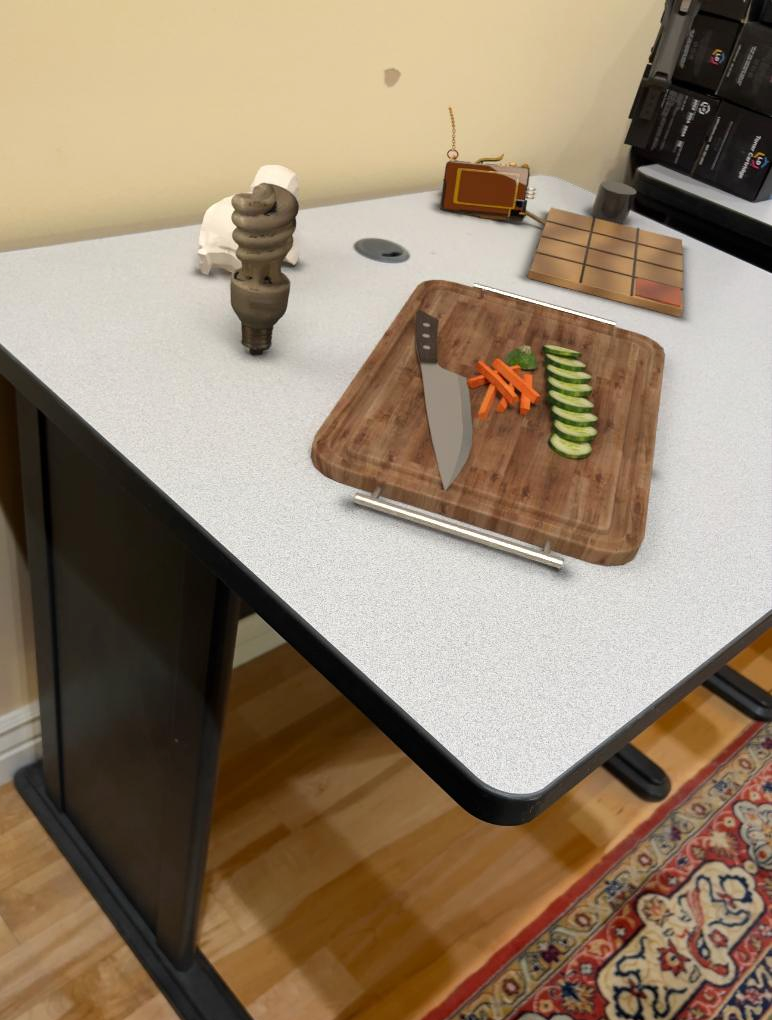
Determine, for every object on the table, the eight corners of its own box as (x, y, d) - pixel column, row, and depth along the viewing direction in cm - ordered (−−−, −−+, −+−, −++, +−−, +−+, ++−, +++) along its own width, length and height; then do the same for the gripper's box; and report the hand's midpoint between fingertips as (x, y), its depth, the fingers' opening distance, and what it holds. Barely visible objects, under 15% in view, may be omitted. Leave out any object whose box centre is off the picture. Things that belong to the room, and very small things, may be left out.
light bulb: (234, 369, 80) (247, 197, 69) (213, 340, 83) (222, 172, 73) (291, 363, 82) (312, 196, 72) (268, 335, 85) (285, 171, 75)
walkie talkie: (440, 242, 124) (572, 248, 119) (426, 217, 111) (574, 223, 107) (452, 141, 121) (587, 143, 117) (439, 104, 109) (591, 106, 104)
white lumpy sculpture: (265, 315, 95) (321, 224, 101) (259, 252, 87) (320, 157, 93) (194, 292, 96) (254, 204, 102) (182, 228, 89) (247, 137, 95)
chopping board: (632, 597, 64) (648, 565, 62) (287, 486, 68) (291, 452, 66) (662, 343, 96) (674, 317, 94) (427, 278, 100) (433, 251, 98)
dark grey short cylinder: (626, 215, 126) (637, 186, 123) (625, 227, 122) (636, 197, 120) (591, 207, 126) (601, 178, 124) (589, 218, 123) (599, 188, 120)
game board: (679, 246, 120) (682, 238, 119) (679, 317, 102) (684, 307, 101) (548, 214, 122) (551, 205, 121) (527, 278, 104) (530, 268, 104)
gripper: (675, -81, 112) (613, 104, 126) (674, -63, 94) (602, 150, 108) (734, -68, 111) (665, 116, 126) (745, -48, 93) (663, 165, 108)
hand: (636, 132), depth 117 cm, fingers open, 13 cm apart
